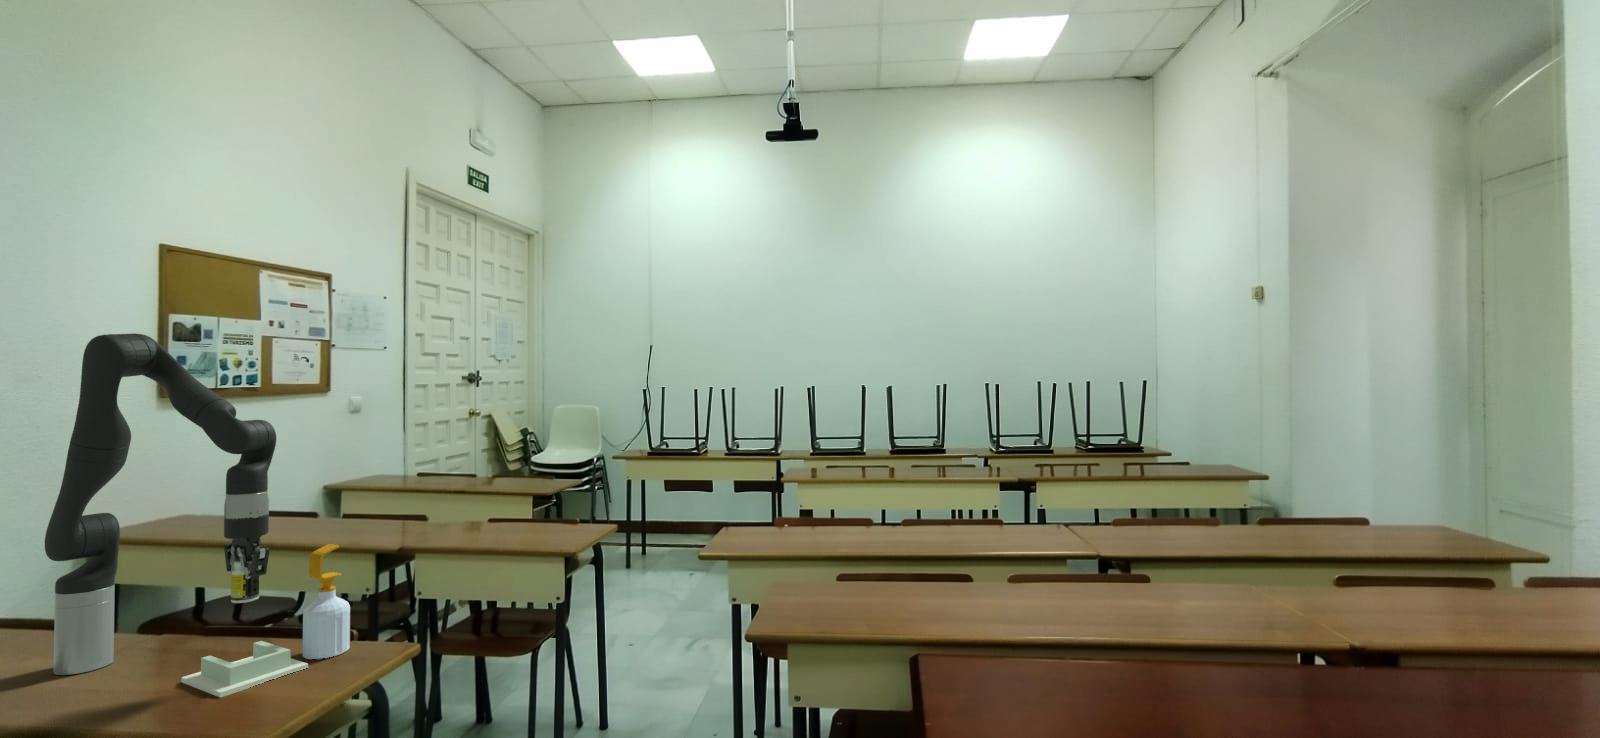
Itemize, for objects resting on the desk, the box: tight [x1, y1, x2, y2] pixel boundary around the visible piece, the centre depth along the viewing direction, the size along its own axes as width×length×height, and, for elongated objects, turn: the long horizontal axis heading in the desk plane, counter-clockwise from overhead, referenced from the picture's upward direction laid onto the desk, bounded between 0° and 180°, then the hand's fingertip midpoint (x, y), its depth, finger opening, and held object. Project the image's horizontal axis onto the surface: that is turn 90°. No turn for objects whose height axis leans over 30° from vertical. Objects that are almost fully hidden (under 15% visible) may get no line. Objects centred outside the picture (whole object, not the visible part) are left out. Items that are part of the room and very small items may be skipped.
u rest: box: [180, 640, 309, 698], centre depth 149 cm, size 16×16×4 cm
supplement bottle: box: [230, 561, 261, 604], centre depth 149 cm, size 5×5×8 cm
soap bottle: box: [302, 543, 351, 660], centre depth 161 cm, size 9×9×25 cm
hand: (245, 593), depth 149 cm, fingers closed on supplement bottle, 4 cm apart
